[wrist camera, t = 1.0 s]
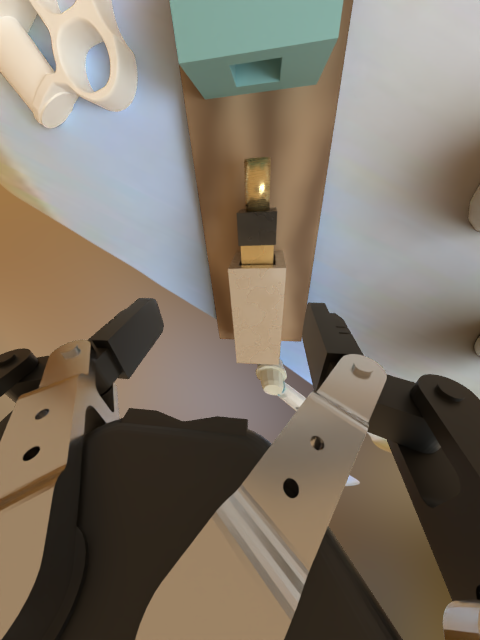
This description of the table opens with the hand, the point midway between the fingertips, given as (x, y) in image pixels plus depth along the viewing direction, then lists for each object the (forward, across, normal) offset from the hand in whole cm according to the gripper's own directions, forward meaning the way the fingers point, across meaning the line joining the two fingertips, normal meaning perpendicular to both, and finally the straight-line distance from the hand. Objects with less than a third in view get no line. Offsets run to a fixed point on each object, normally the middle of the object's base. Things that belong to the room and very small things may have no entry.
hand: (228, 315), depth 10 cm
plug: (+16, -1, +3) cm, 16 cm away
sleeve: (+17, -1, +8) cm, 19 cm away
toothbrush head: (+19, -10, +31) cm, 38 cm away
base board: (+19, -1, -2) cm, 19 cm away
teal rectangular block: (+18, -1, -15) cm, 23 cm away
